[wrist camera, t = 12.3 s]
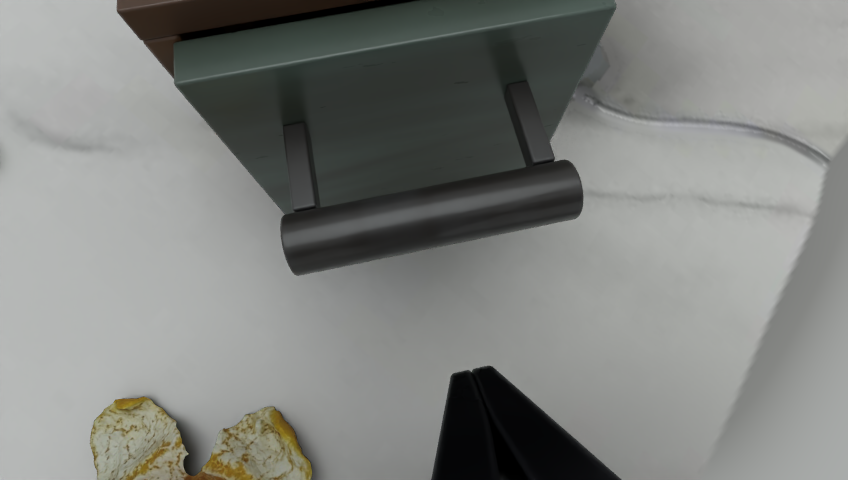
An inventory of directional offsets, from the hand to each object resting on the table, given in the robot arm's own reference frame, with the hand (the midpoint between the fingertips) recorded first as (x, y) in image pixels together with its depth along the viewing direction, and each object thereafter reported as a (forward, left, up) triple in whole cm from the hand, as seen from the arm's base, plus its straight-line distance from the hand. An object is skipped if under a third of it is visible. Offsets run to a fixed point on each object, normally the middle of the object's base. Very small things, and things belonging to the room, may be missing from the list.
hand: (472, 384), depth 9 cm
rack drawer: (+10, -6, -7) cm, 13 cm away
